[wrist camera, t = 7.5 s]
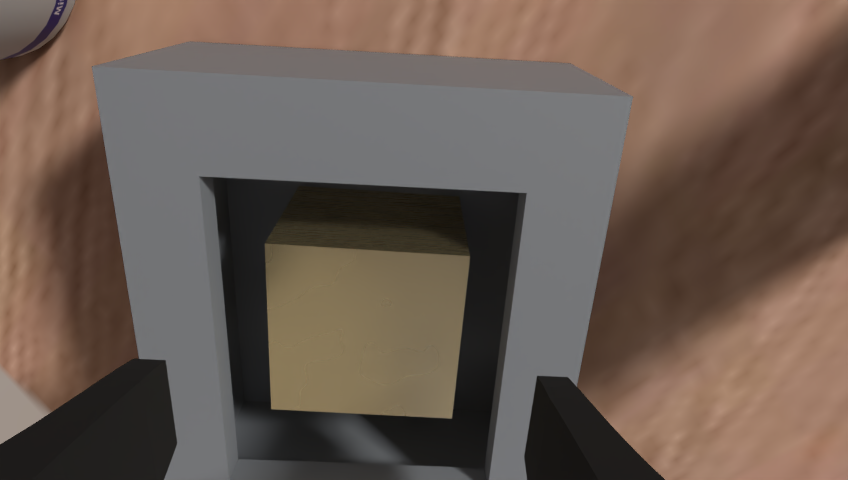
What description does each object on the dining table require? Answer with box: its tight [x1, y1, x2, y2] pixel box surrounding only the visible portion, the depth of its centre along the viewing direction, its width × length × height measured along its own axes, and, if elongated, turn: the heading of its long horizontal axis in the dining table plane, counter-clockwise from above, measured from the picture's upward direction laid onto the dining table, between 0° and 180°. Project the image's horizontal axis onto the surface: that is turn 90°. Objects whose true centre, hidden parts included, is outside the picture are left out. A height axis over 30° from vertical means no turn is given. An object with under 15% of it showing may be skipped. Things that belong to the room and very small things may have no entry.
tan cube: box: [265, 186, 470, 419], centre depth 16 cm, size 4×4×4 cm
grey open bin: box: [92, 42, 633, 480], centre depth 16 cm, size 12×10×5 cm
